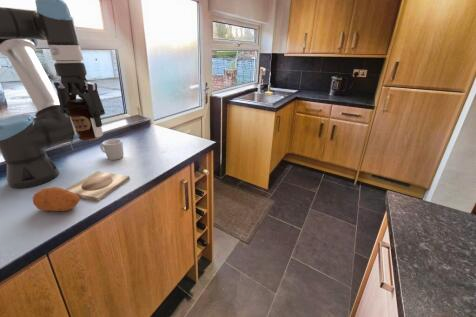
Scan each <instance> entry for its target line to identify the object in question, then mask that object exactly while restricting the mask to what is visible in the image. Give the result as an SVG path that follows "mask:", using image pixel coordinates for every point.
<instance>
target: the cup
mask: <svg viewBox="0 0 476 317" xmlns="http://www.w3.org/2000/svg"><path fill="white" fill-rule="evenodd" d="M99 147H100V150H101V152H102V153H105V155H106V157H107V159H108V160H110V161H117V160H120V159H122V158H123V157H124V145H123V139H121V138H110V139H107V140H104V141H103V142H102V143H100V145H99Z"/></svg>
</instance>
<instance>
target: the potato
mask: <svg viewBox="0 0 476 317" xmlns="http://www.w3.org/2000/svg"><path fill="white" fill-rule="evenodd" d="M65 189H66V188H65ZM65 189H64V188H62V187H60V186H59V187H58V186H57V187H56V186H50V187H44V188H41V189H40V190H38V191H37V192H35V193H34V194H33V197H32V203H33V205H34V206H35V208H36V209H37V210H41V211H43V212H44V211H45V212H65V211H70V210H72V209H74V208H76V207H77V205H78V204H79V202H80V200H81V199H80V198H81V197H79V196H78V195H77V194H75V193H73V192H70V191H67V190H65Z"/></svg>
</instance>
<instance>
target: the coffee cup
mask: <svg viewBox="0 0 476 317" xmlns="http://www.w3.org/2000/svg"><path fill="white" fill-rule="evenodd" d="M67 101H68V102H67V104H66V108H67V110H68V111H69V114H70V117H71V120H72V122H73V124H74V127H75V130H76V131H77V132H78V133H79V139H78V140H80V141H94V140H98V139H101V137H102V136H99V137H95V134H94V130H93V127H92V123H91V119H90V118H91V117H92V116H91V114H90V112H89V110H88V106H87V104H86V103H85V101H83V100H82V98H80V97H79V98H76V99H73V100H67Z"/></svg>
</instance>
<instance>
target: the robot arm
mask: <svg viewBox="0 0 476 317" xmlns="http://www.w3.org/2000/svg"><path fill="white" fill-rule="evenodd" d="M35 7H36V8H35V9H36V10H35V9H24V8H15V7H1V6H0V55H3V56H4V57H6V58H7V59H8V60H9V62H10V64H11V66H12V68H13V69H14V70H15V72H16V74H17V76H18V78H19V81H21V84H22V86H23V87H24V89H25V91H26V93H27V95H28V96H29V98H30V99H31V101H32V103H33V105H34V107H35V108H36V111H35V114H34V116H35V117H33V115H31V114H21V115H15V116H11V117H6V118H4V119H1V120H0V153H1V155H2V157H3V160H4V162H5V165H6V181H7V184H8V186H9V187H11V188H13V189H26V188H31V187H32V188H33V187H36V186H41V185H42V184H45V183H47V182H50V181H52V180H53V179H55V178H56V177H57V176H59V173H60V171H59V169H58V166H57V165H56V164H55V163H54V162H53V161H52V160H51V159H50V157H49V156H48V154H47V152H46V149H48V148H52V147H55V146H59V145H64V144H68V143H73V142H75V141H78V140H80V139H79V133H78V132H77V131H76V130H75V127H74V124H73V122H72V120H71V117H70V114H69V111H68V110H67V108H66V104H67V102H68V101H67V100H73V99H77V96H78V97H79V99H80V98H82V100H83V101H85V103H86V104H87V106H88V110H89V112H90V114H91V116H92V117H91V118H90V119H91V123H92V127H93V130H94V134H95V137H99V136H101V137H102V136H103V135H104V132H103V129H102V126H103V123H102V119H101V116H104V115H105V114H106V112H105V109H104V106H103V103H102V101H101V97H100V94H99V91H98V84H97V82H90V81H88V79H87V78H86V76H87V69H86V66H85V63H84V61H83V60H84V57H83V53H82V50H81V46H80V42H79V37H78V34H77V30H76V25H75V20H74V16H73V14H72V11H71V7H70V5H69V4H68V2H66V1H65V0H35ZM38 40H41V41H46V42H47V45H48V48H49V53H50V55H51V57H52V58H51V59H52V60H53V61H55V63H54V68H55V71H56V72H55V73H56V75H57V76H58V77H60V81H55V82H53V84H52V82H51V80H50V79H49V77H48V75H47V74H46V72H45V69H44V68H43V66H42V64H41V62H40V60H39V59H38V57H37V55H36V53H35V52H36V51H37V47H38ZM82 61H83V62H82ZM53 85H54V86H53Z"/></svg>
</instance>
